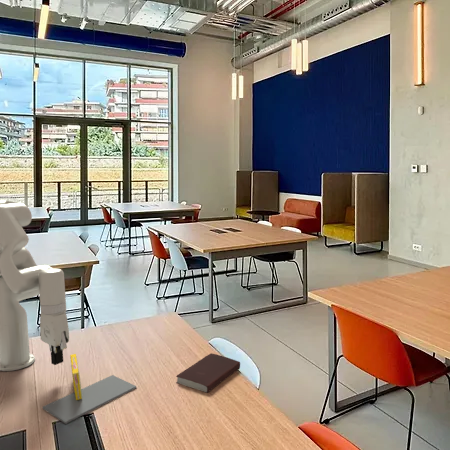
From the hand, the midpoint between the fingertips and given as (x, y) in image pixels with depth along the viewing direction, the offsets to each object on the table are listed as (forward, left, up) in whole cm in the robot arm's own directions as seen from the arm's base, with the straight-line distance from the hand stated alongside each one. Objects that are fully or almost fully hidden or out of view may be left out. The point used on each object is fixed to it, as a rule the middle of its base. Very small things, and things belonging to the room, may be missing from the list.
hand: (57, 362), depth 139 cm
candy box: (+11, 0, -5) cm, 12 cm away
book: (+37, +32, -7) cm, 49 cm away
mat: (+18, 0, -6) cm, 19 cm away
